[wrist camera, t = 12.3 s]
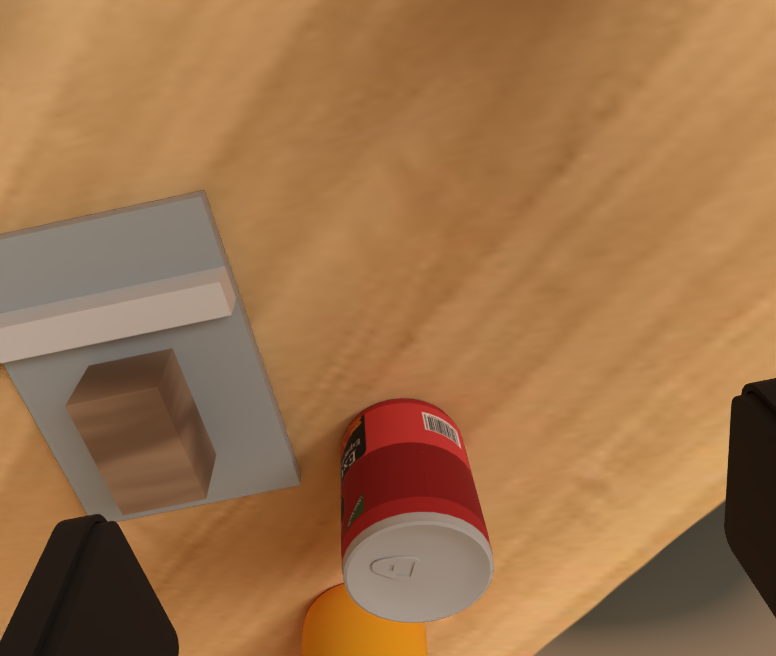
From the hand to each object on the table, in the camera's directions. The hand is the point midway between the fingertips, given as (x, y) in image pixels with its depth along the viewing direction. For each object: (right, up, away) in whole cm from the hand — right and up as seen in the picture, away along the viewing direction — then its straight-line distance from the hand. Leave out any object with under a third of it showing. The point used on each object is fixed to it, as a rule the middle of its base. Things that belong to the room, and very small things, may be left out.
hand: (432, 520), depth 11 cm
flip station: (-15, 0, +31) cm, 35 cm away
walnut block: (-15, 0, +28) cm, 32 cm away
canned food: (0, -5, +35) cm, 35 cm away
